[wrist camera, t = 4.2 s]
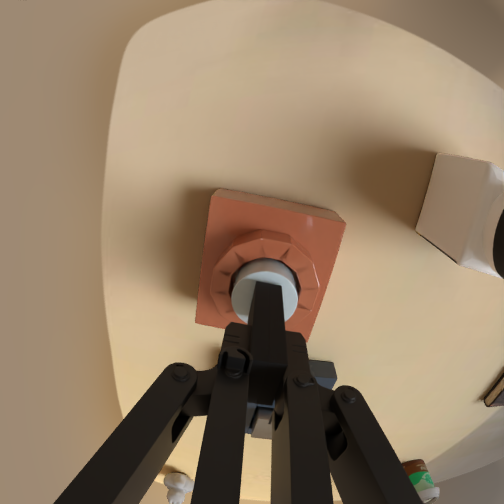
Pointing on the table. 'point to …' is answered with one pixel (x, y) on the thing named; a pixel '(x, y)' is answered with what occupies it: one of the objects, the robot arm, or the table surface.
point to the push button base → (323, 376)
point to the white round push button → (266, 273)
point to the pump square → (262, 423)
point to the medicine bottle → (466, 212)
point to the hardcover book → (496, 394)
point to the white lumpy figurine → (177, 487)
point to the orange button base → (266, 252)
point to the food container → (421, 481)
